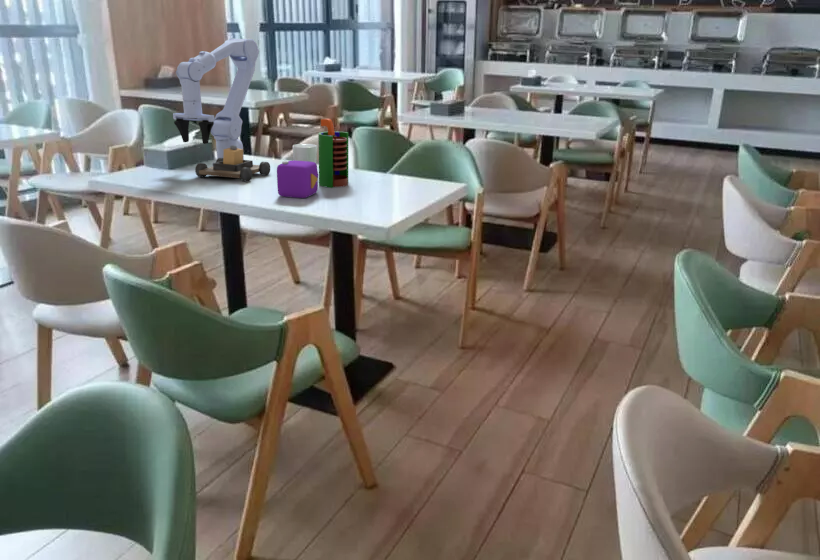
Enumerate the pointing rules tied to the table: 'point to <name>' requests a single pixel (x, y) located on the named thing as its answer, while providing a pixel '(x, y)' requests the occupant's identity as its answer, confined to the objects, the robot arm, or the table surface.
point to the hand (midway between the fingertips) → (195, 142)
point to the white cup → (305, 152)
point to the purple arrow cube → (297, 179)
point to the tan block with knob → (233, 155)
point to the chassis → (233, 169)
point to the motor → (333, 156)
